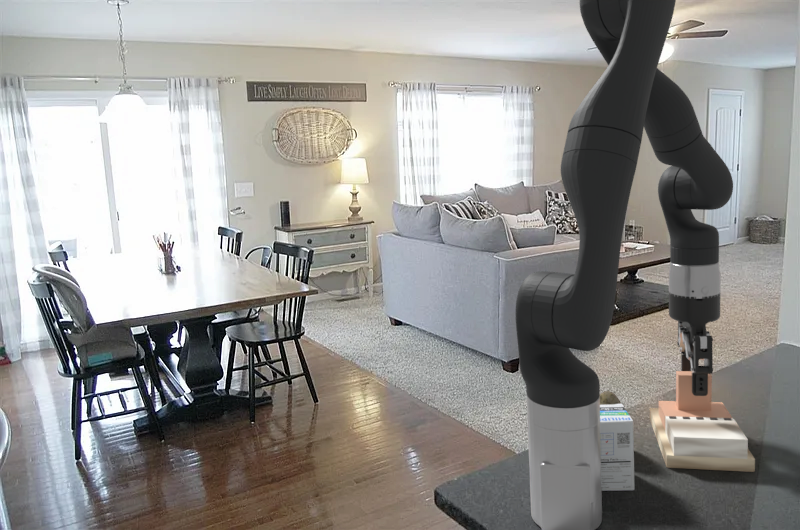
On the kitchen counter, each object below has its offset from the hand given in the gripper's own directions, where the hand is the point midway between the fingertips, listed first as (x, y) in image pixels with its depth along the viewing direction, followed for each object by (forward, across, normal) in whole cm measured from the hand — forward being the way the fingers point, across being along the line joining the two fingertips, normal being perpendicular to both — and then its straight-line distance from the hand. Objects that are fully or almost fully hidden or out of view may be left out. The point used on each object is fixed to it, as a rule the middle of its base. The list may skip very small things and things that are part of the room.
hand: (693, 385), depth 103 cm
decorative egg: (+9, +7, -14) cm, 18 cm away
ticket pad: (+9, +3, 0) cm, 9 cm away
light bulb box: (+9, +17, -17) cm, 26 cm away
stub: (+6, +1, 0) cm, 6 cm away
